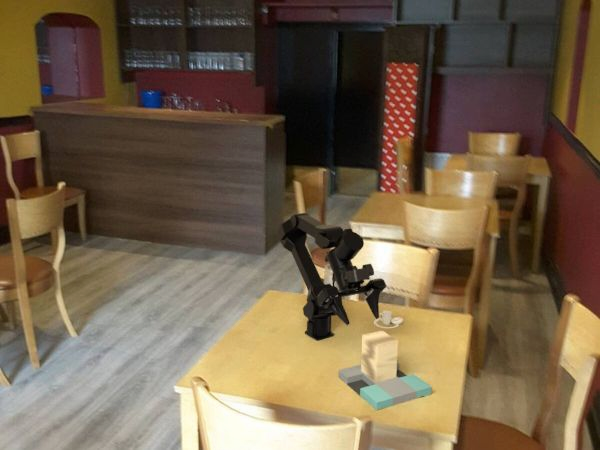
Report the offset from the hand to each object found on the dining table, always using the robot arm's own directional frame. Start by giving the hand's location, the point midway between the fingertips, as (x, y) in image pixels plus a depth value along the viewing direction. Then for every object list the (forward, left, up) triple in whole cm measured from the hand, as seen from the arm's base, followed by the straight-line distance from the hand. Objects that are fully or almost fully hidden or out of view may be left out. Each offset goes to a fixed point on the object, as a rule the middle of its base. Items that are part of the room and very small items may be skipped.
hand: (363, 321), depth 162 cm
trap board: (+1, +10, -13) cm, 17 cm away
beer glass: (-18, -35, -14) cm, 42 cm away
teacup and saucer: (-25, -15, -14) cm, 33 cm away
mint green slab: (+2, +15, -13) cm, 20 cm away
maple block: (+1, +7, -11) cm, 14 cm away
